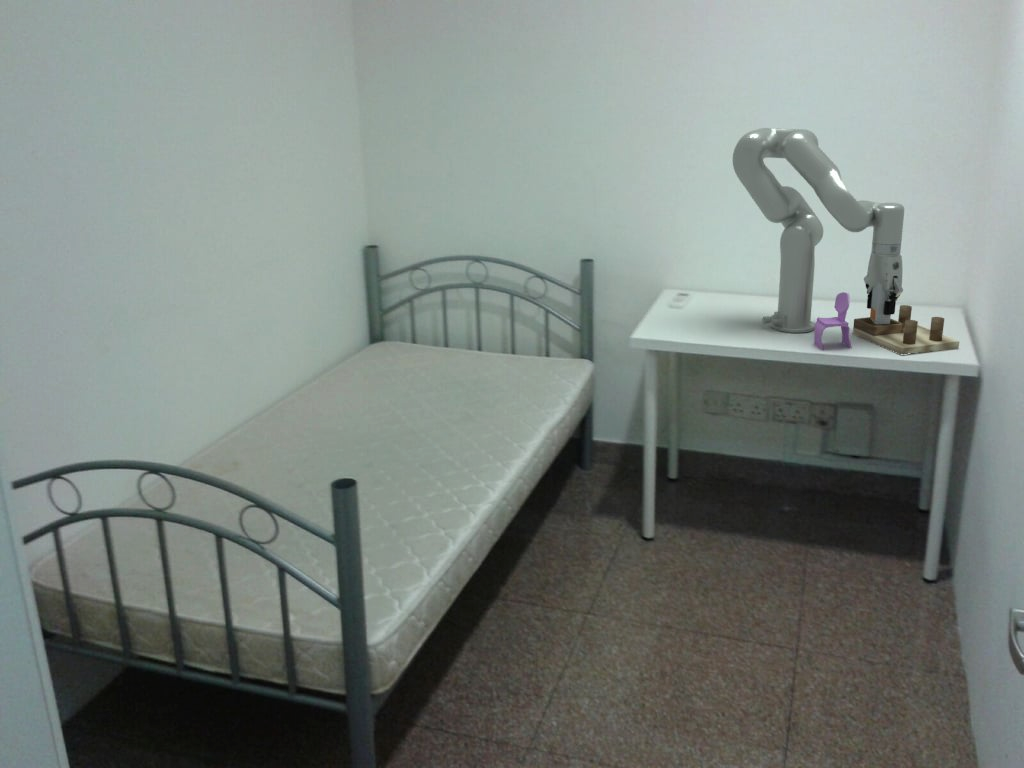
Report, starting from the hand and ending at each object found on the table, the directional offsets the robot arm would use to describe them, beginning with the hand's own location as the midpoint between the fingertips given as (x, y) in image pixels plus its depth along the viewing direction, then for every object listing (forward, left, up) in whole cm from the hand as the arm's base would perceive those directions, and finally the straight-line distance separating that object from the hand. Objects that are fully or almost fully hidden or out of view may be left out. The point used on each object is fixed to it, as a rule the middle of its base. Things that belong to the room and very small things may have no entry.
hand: (880, 310), depth 275 cm
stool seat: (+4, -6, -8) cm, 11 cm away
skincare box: (0, 0, -3) cm, 3 cm away
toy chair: (-17, -3, -8) cm, 19 cm away
